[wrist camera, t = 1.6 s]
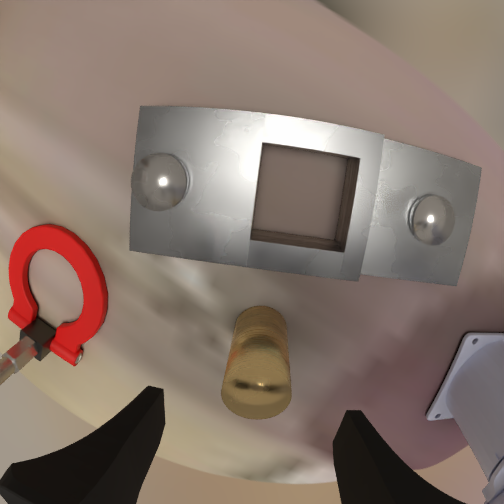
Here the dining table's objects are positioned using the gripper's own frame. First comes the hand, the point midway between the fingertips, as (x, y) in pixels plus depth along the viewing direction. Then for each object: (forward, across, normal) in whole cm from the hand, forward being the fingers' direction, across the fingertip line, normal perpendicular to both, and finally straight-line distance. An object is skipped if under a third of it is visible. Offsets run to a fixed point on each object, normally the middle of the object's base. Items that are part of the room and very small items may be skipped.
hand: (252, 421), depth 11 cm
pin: (+8, 0, 0) cm, 8 cm away
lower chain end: (+8, -5, -8) cm, 12 cm away
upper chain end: (+8, +1, -8) cm, 11 cm away
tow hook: (+8, +14, 0) cm, 16 cm away
